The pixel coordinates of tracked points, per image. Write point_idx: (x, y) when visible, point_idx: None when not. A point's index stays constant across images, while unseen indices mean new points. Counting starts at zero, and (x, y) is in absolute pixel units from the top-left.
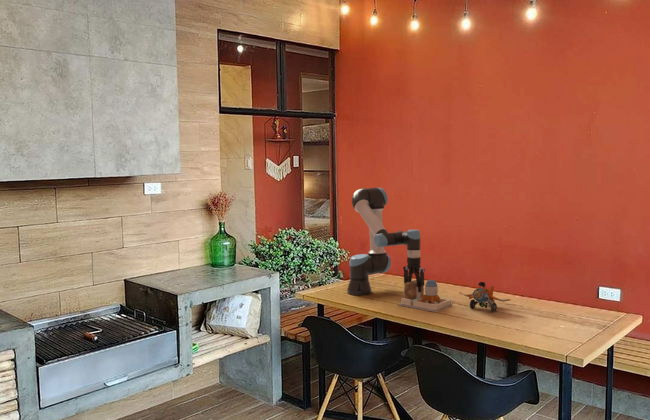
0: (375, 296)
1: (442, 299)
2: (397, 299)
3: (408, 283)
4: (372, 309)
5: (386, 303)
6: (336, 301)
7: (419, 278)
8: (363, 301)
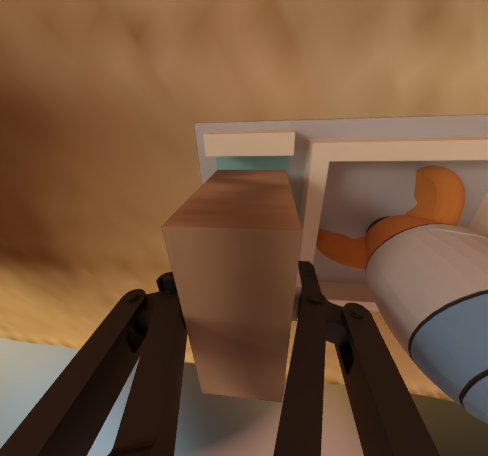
0: (19, 222)
1: (475, 158)
2: (131, 207)
3: (234, 388)
4: (190, 357)
5: None
6: (39, 339)
7: (319, 397)
8: (81, 305)
